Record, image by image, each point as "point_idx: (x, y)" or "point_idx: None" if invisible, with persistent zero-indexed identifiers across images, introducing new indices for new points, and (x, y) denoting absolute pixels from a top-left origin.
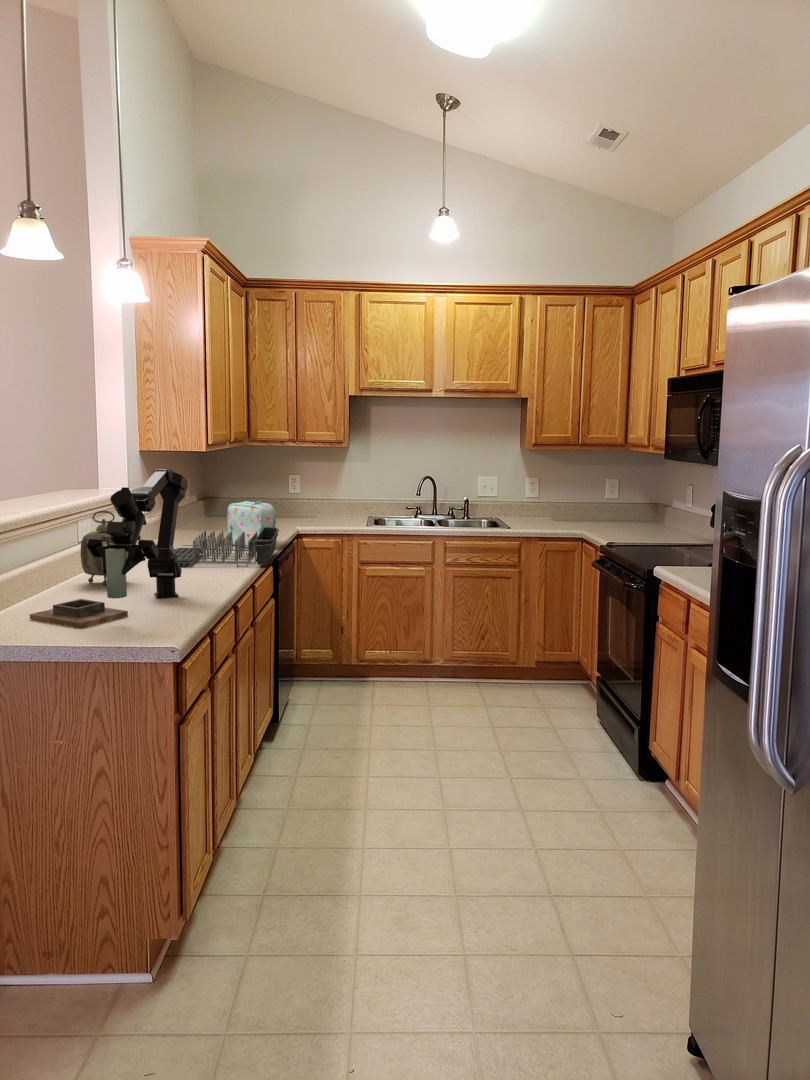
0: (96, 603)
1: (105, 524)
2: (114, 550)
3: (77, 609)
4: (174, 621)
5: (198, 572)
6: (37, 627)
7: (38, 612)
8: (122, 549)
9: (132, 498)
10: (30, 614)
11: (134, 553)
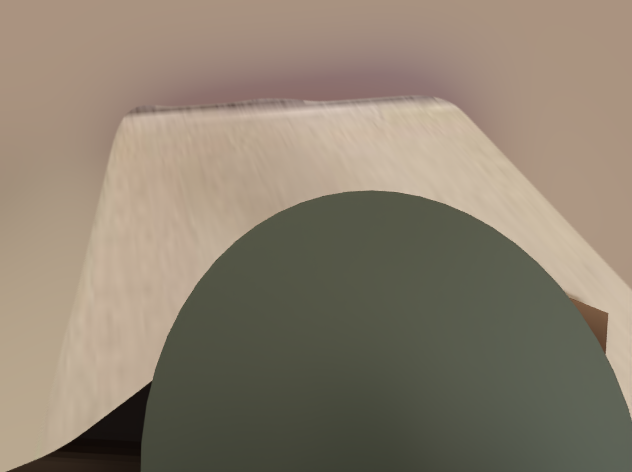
0: None
1: None
2: (338, 252)
3: None
4: (151, 338)
5: None
6: (500, 232)
7: (601, 341)
8: (205, 445)
9: None
10: (603, 311)
11: (16, 468)
